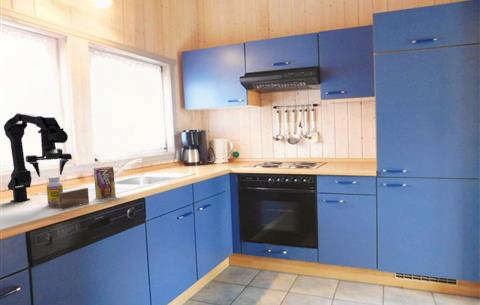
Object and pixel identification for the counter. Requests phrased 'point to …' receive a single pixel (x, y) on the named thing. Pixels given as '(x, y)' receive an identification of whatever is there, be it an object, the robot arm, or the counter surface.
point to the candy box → (104, 182)
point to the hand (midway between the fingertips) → (50, 175)
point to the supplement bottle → (54, 189)
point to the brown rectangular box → (71, 199)
